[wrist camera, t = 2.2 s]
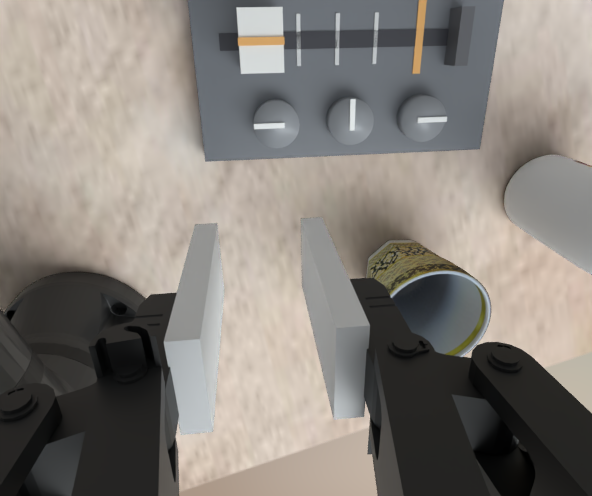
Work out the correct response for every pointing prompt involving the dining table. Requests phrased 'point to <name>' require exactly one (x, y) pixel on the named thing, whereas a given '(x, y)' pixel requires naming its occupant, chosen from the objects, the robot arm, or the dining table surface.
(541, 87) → the dining table surface
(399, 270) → the ceramic cup
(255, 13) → the fader cap
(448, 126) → the console
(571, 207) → the milk bottle
